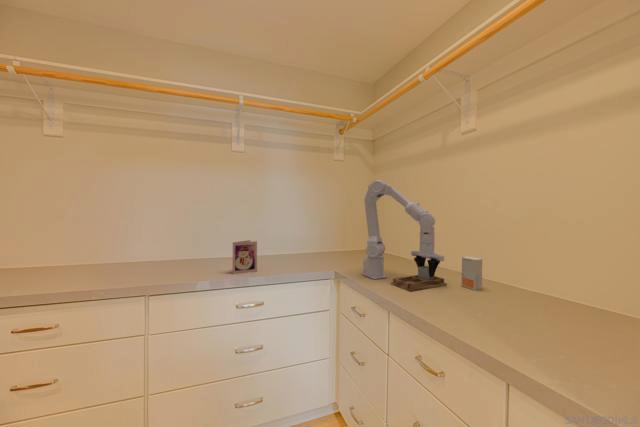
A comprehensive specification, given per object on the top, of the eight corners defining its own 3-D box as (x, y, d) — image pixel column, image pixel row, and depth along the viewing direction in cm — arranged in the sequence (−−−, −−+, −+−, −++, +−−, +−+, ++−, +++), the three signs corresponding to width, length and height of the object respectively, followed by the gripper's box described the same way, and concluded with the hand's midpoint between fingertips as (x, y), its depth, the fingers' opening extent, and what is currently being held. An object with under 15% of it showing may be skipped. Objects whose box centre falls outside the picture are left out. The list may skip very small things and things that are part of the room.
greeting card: (232, 274, 122) (232, 242, 122) (230, 271, 129) (230, 240, 129) (257, 272, 127) (257, 241, 127) (254, 268, 134) (254, 239, 134)
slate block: (417, 278, 110) (418, 266, 110) (424, 277, 112) (425, 265, 112) (427, 281, 106) (427, 268, 106) (434, 279, 108) (434, 267, 108)
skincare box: (460, 286, 106) (461, 256, 106) (468, 285, 107) (469, 256, 107) (474, 290, 100) (475, 259, 100) (482, 289, 102) (482, 258, 101)
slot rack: (390, 284, 108) (390, 277, 108) (425, 278, 117) (425, 272, 117) (411, 292, 98) (411, 285, 98) (447, 285, 107) (447, 279, 107)
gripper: (406, 241, 113) (406, 272, 114) (436, 245, 101) (435, 280, 101) (417, 240, 117) (417, 270, 117) (447, 244, 104) (447, 278, 105)
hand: (426, 275), depth 109 cm, fingers closed on slate block, 4 cm apart
